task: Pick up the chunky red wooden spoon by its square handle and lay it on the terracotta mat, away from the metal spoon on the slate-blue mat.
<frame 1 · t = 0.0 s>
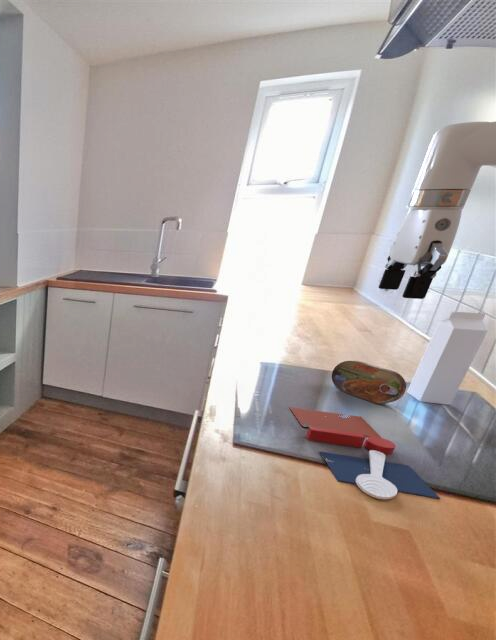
hand: (399, 293, 83), 28 cm above the countertop, tool pointing down, fingers open, 9 cm apart
blue mat: (374, 473, 75), on the countertop
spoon: (375, 474, 75), on the countertop, touching blue mat
tin: (360, 396, 105), on the countertop
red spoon: (350, 444, 84), on the countertop
milk: (427, 399, 104), on the countertop
terracotta mat: (332, 422, 93), on the countertop
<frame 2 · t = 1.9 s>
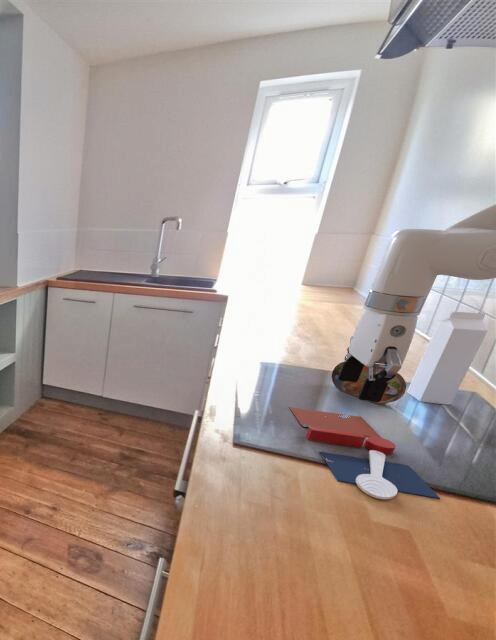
hand: (357, 390, 80), 12 cm above the countertop, tool pointing down, fingers open, 9 cm apart
nothing on the countertop moved.
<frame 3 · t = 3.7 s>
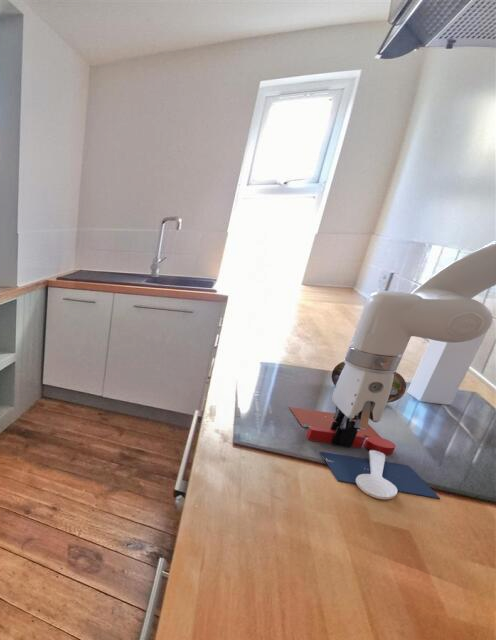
hand: (338, 442, 85), 0 cm above the countertop, tool pointing down, fingers closed on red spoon, 1 cm apart
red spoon: (350, 444, 84), on the countertop, touching gripper
everything else where it was.
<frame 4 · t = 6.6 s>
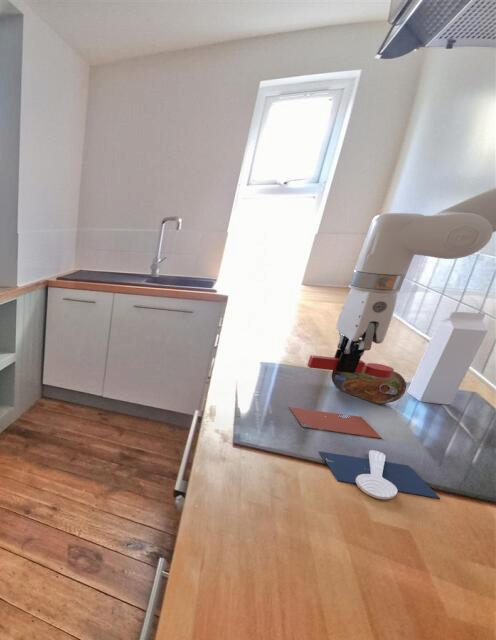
hand: (342, 369, 87), 13 cm above the countertop, tool pointing down, fingers closed on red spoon, 1 cm apart
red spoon: (350, 371, 87), point 13 cm above the countertop, touching gripper
everything else where it was.
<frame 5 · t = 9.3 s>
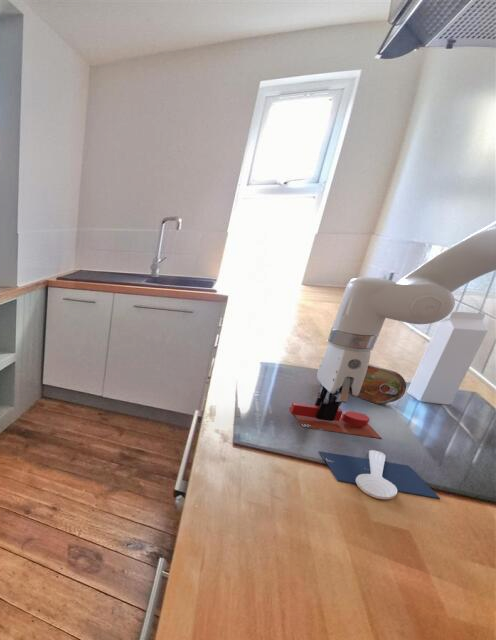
hand: (322, 416, 93), 1 cm above the countertop, tool pointing down, fingers closed on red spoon, 1 cm apart
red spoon: (329, 418, 93), point 1 cm above the countertop, touching gripper
everything else where it was.
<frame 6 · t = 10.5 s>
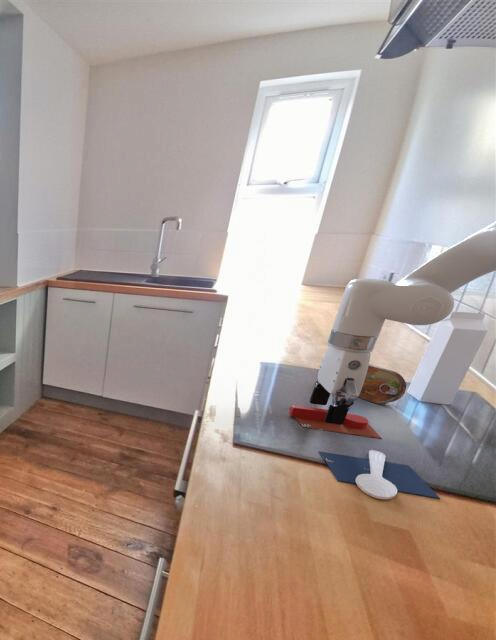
hand: (325, 413, 92), 2 cm above the countertop, tool pointing down, fingers open, 9 cm apart
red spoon: (328, 420, 93), resting on terracotta mat
everything else where it was.
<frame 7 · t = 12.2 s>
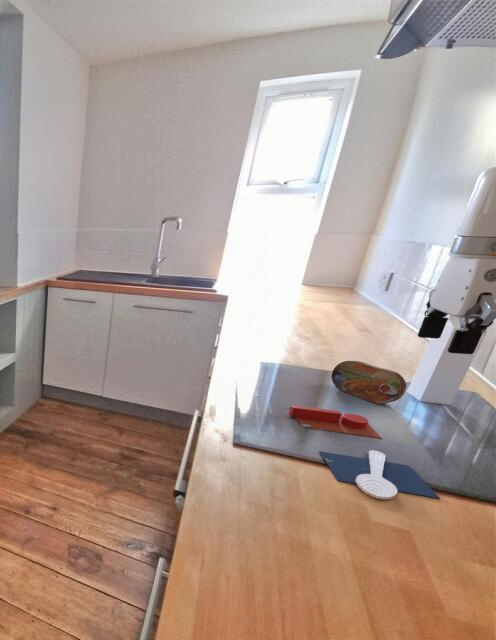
hand: (443, 344, 76), 21 cm above the countertop, tool pointing down, fingers open, 9 cm apart
nothing on the countertop moved.
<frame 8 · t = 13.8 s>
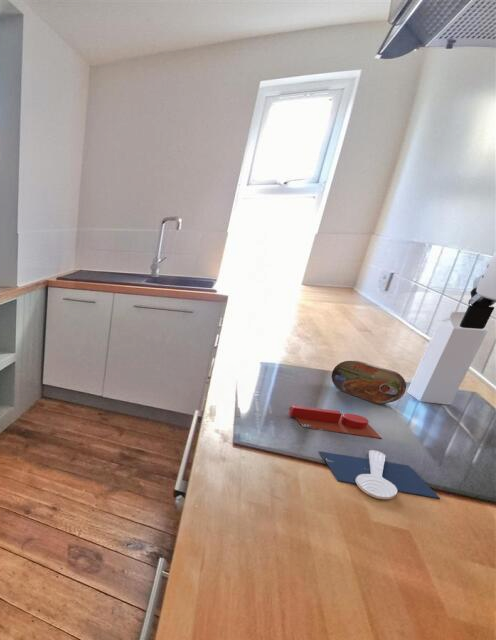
hand: (489, 335, 71), 24 cm above the countertop, tool pointing down, fingers open, 9 cm apart
nothing on the countertop moved.
at the end: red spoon inside the target area (0.7 cm from its centre), resting on terracotta mat; the gripper is holding nothing; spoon moved 0.2 cm from its start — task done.
